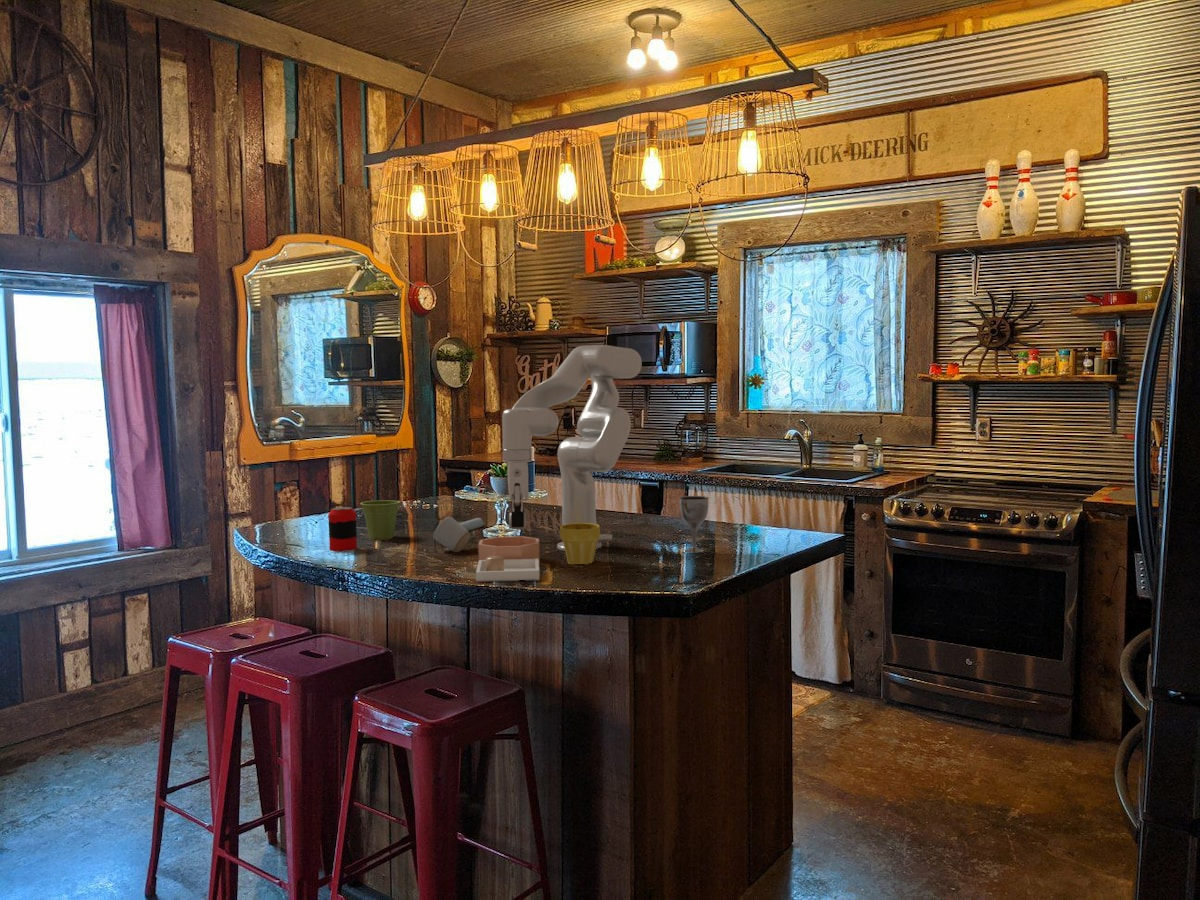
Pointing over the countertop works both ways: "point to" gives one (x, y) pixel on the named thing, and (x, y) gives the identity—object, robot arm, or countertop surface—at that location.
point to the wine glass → (694, 515)
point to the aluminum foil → (472, 524)
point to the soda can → (342, 529)
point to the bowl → (509, 547)
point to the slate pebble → (517, 527)
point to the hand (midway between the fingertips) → (517, 524)
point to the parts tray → (509, 571)
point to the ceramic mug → (451, 534)
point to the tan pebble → (495, 563)
